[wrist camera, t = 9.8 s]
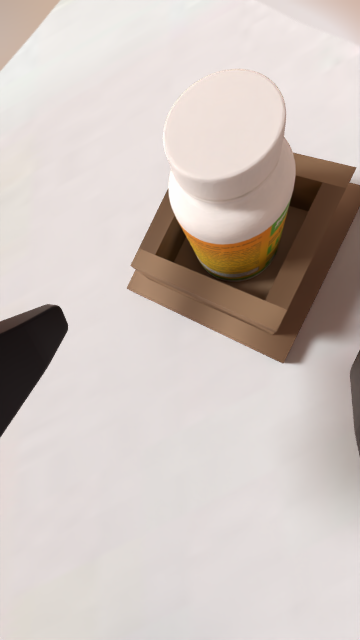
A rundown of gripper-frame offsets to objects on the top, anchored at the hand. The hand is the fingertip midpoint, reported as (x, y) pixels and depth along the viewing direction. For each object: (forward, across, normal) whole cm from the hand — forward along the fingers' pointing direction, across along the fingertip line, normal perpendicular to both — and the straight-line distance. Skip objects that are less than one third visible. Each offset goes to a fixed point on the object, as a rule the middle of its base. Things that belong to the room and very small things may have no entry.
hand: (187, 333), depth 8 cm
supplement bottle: (+12, 0, +2) cm, 12 cm away
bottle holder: (+12, 0, +2) cm, 13 cm away
